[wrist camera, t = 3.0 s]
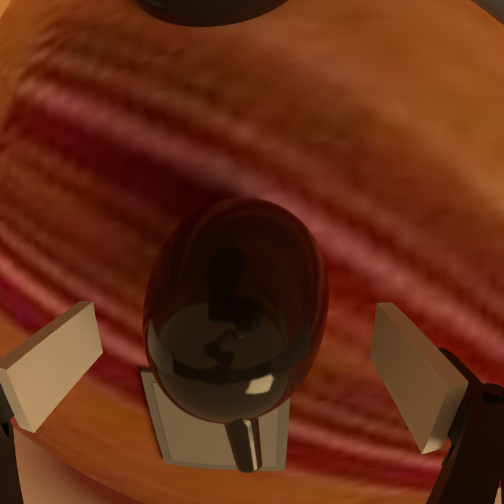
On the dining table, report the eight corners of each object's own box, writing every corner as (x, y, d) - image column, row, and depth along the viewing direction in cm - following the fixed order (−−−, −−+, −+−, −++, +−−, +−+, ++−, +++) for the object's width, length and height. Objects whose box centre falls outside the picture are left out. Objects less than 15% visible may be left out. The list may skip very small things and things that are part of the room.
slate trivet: (142, 368, 26) (140, 372, 25) (290, 374, 25) (291, 378, 25) (166, 459, 29) (164, 464, 28) (284, 466, 28) (284, 471, 28)
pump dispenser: (196, 336, 25) (133, 487, 10) (165, 209, 23) (26, 258, 8) (322, 318, 24) (378, 471, 9) (304, 183, 22) (379, 190, 7)
